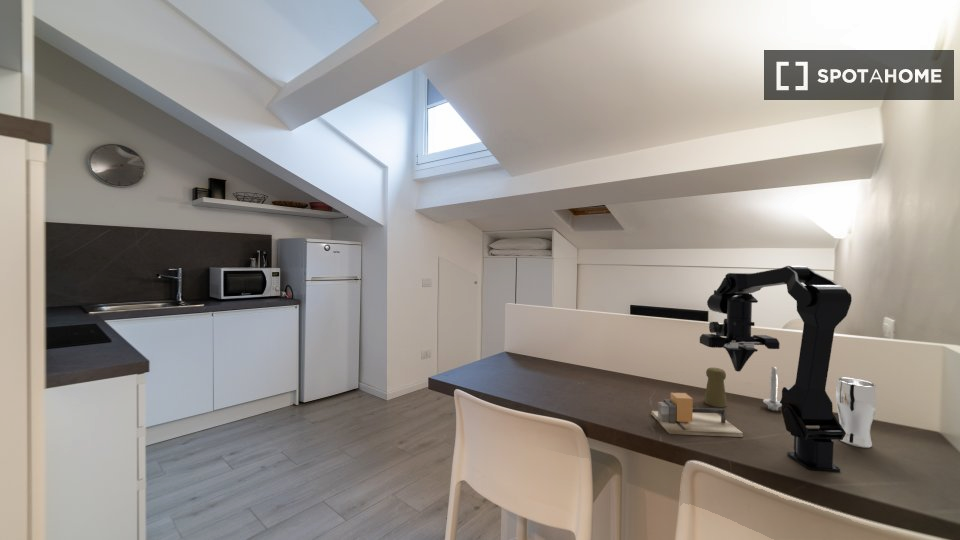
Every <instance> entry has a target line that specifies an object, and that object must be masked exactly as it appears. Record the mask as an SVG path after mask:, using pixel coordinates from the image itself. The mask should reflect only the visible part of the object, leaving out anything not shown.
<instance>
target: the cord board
mask: <svg viewBox="0 0 960 540" xmlns="http://www.w3.org/2000/svg"><path fill="white" fill-rule="evenodd" d="M650 412H651V413H650V414H651V415H652V416H653V417H654V419H655V420H657V422H658V423H659V424H660V425H661V426H662V428H664V430H665V431H666V432H667V433H668V434H669V435H687V436H688V435H689V436H690V435H691V436H709V437H710V436H712V437H715V436H716V437H733V438H735V437H736V438H739V437H740V438H743V437H744V432H742V431H741V430H740V429H738V428H737V427H736V426H734V425H733V424H732V423H731V422H729V421H727V417H726V411H725V409H724V408H713V407H712V408H710V407H709V408H708V407H707V408H706V407H693V415H692V422H680V421H676V405H675V404H674V403H673V402H671V398H663V401H658V402H657V410H651V411H650Z"/></svg>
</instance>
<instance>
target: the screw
mask: <svg viewBox="0 0 960 540" xmlns="http://www.w3.org/2000/svg"><path fill="white" fill-rule="evenodd" d="M777 369H778V368H777V367H776V366H771V372H770V373H771V374H770V385H769V387H770V388H769V398H763V400H762V402H763V403H764V404H766V405H767V409H768V410H770V411H777V412H779V408H781V406H782V404H780V401H781V400H778V389H779V387H778V383H779V380H778V372H777V371H778V370H777Z"/></svg>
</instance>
